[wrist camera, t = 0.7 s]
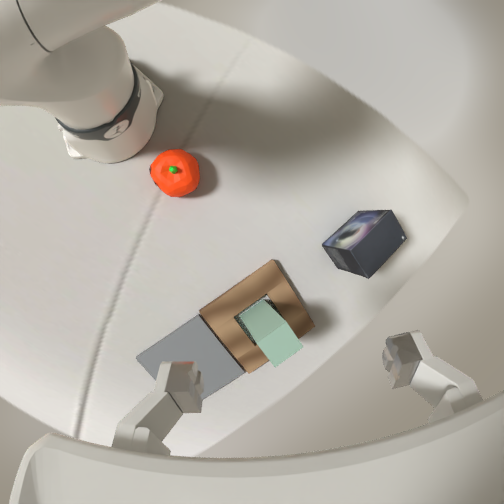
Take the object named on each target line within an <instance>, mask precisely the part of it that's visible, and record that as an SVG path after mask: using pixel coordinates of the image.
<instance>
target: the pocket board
mask: <svg viewBox="0 0 504 504" xmlns="http://www.w3.org/2000/svg"><path fill="white" fill-rule="evenodd" d="M265 294H267V295H268V297H269V298H270V300H271V301H272V302H273V304H274V305H275V307H276V308H277V310H278V311H279V313H280V314H281V316H282V317H283V319H284V320H285V321H286V322H287V323H288V325H289V326H290V328H291V329H292V331H293V332H294V334H295V335H296V337H297V338H298V339H299V338H300V337H302V336H303V335H304V334H306V333H307V332H308V331H310V330H311V329H312V328H314V327H315V325H314V323H313V322H312V320H311V318H310V317H309V315H308V314H307V312H306V310H305V309H304V307H303V306H302V304H301V302H300V301H299V299H298V298H297V296H296V294H295V293H294V291H293V290H292V288H291V286H290V285H289V283H288V282H287V280H286V279H285V277H284V275H283V274H282V272H281V271H280V269H279V268H278V266H277V264H276V263H275V261H274V260H270V261H269V262H268V263H266V264H265V265H263V266H262V267H260V268H259V269H258V270H256V271H255V272H253V273H252V274H251V275H249V276H248V277H246V278H245V279H243V280H242V281H241V282H239V283H238V284H236V285H235V286H233V287H232V288H231V289H229V290H228V291H226V292H225V293H223V294H222V295H221V296H219V297H218V298H216V299H215V300H213V301H212V302H210V303H209V304H208V305H206V306H205V307H203V308H202V309H200V310H199V312H200V314H201V315H202V316H203V317H204V319H205V320H206V321H207V323H208V324H209V325H210V326H211V328H212V329H213V330H214V332H215V333H216V334H217V335H218V337H219V338H220V339H221V340H222V342H223V343H224V344H225V345H226V347H227V348H228V349H229V350H230V352H231V353H232V354H233V355H234V356H235V358H236V359H237V360H238V361H239V362H240V364H241V365H242V366H243V367H244V368H245V370H246V371H247V372H248V373H251V372H252V371H254V370H255V369H257V368H258V367H260V366H261V365H263V364H264V363H266V362H267V361H268V360H269V359H268V358H267V356H266V355H265V354H264V352H263V351H262V350H261V349H260V347H259V346H258V345H257V343H254V344H253V342H252V341H251V340H250V338H249V337H248V336H247V334H246V333H245V332H244V331H243V329H242V328H241V327H240V325H239V324H238V323H237V321H236V320H235V319H234V316H235V315H237V314H238V313H240V312H241V311H243V310H244V309H245V308H247V307H248V306H250V305H251V304H253V303H254V302H255V301H257V300H258V299H260V298H261V297H262V296H264V295H265Z"/></svg>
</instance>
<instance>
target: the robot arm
mask: <svg viewBox="0 0 504 504" xmlns="http://www.w3.org/2000/svg"><path fill="white" fill-rule="evenodd" d="M159 1H161V0H0V106H31V107H37V108H41V109H43V110H45V111H47V112H48V113H50V114H51V115H53V116H54V117H55V118H56V120H57V121H58V123H59V124H58V128H59V130H60V131H63V135H64V140H65V143H66V147H67V150H68V154H69V155H70V156H71V157H72V158H74V159H80V158H89V159H92V160H95V161H97V162H101V163H116V162H120V161H123V160H126V159H128V158H130V157H132V156H133V155H135V154H136V153H137V152H139V151H140V150H141V149H142V148H143V147H144V146H145V145H146V143H147V142H148V141H149V139H150V137H151V135H152V133H153V131H154V128H155V124H156V114H157V109H158V107H159V106H160V104H161V102H162V100H163V97H164V95H163V92H162V91H161V89H159V88H158V87H157V86H156V85H155V84H154V83H153V82H152V81H151V80H150V79H149V78H148V77H146V76H145V75H144V74H143V73H142V72H141V71H140V70H139V69H138V68H137V67H135V66H134V65H133V64H132V63H131V62H130V60H129V57H128V53H127V50H126V46H125V43H124V41H123V39H122V38H121V37H120V36H119V35H118V34H117V33H116V32H115V31H114V30H112V29H110V28H109V27H107V26H105V25H107V24H110V23H112V22H115V21H117V20H120V19H122V18H125V17H128V16H131V15H133V14H135V13H137V12H139V11H141V10H143V9H145V8H147V7H149V6H151V5H153V4H155V3H157V2H159ZM153 90H154V92H153ZM386 345H387V347H386V348H385V349H384V350H383V364H384V367H385V369H386V370H387V371H389V372H390V373H389V376H388V378H389V381H390V384H391V387H392V389H394V388H398V387H403V386H407V385H410V387H411V388H412V389H413V390H415V391H416V392H417V393H418V394H419V395H420V396H422V397H423V398H424V399H425V400H426V401H427V402H428V403H430V404H431V405H432V406H433V407H434V408H435V409H434V411H433V412H432V413H431V415H430V416H429V418H428V421H429V424H426V425H423V426H420V427H417V428H414V429H411V430H408V431H404V432H401V433H398V434H394V435H391V436H387V437H384V438H380V439H376V440H372V441H368V442H363V443H359V444H355V445H349V446H344V447H339V448H334V449H329V450H322V451H315V452H308V453H301V454H291V455H282V456H268V457H251V458H201V457H183V456H171V455H170V452H171V451H170V450H169V448H168V447H166V446H165V445H164V444H163V443H162V441H163V439H164V438H165V437H166V435H167V434H168V433H169V432H170V430H171V429H172V428H173V426H174V425H175V424H176V422H177V421H178V420H179V419H180V417H181V416H182V415H183V413H201V408H202V398H201V397H200V395H201V394H202V393H203V392H204V379H203V375H202V373H201V372H200V371H199V370H198V364H197V363H196V361H192V362H173V361H172V362H162V363H161V364H160V367H159V371H158V375H157V379H156V383H155V387H154V391H153V392H150V393H149V394H148V395H147V396H146V397H145V398H144V399H142V400H141V401H140V402H139V403H138V404H137V405H136V406H135V407H134V408H133V409H132V410H131V411H130V412H129V413H128V414H127V415H126V416H125V417H124V418H123V419H122V420H121V421H120V422H119V423H118V425H117V428H116V432H115V436H114V440H113V444H112V447H108V446H103V445H99V444H94V443H90V442H86V441H82V440H78V439H74V438H70V437H67V436H63V435H60V434H57V433H48V434H46V435H44V436H43V437H42V438H40V439H39V440H37V441H36V442H35V443H34V444H32V445H31V446H30V447H29V448H28V450H27V451H26V453H25V455H24V457H23V459H22V461H21V464H20V467H19V470H18V472H17V475H16V479H15V482H14V486H13V490H12V493H11V497H10V502H9V504H504V390H503V391H501V392H499V393H497V394H495V395H493V396H492V397H489V398H487V399H485V400H483V399H482V397H481V395H480V393H479V391H478V388H477V386H476V384H475V382H474V380H473V379H472V378H470V377H469V376H467V375H466V374H464V373H462V372H461V371H459V370H458V369H456V368H455V367H453V366H451V365H450V364H448V363H447V362H445V361H443V360H442V359H440V358H439V357H437V356H433V354H432V352H431V351H430V349H429V347H428V345H427V343H426V341H425V339H424V337H423V335H422V334H421V332H420V331H419V330H416V331H412V332H407V333H403V334H399V335H394V336H390V337H388V338H387V339H386Z"/></svg>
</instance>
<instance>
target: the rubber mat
mask: <svg viewBox="0 0 504 504" xmlns="http://www.w3.org/2000/svg"><path fill="white" fill-rule="evenodd" d="M136 359H137V360H138V362H139V363H140V364H141V365H142V366H143V367H144V368H145V369H146V371H147V372H148V373H149V374H150V375H151V376H152V377H153V378H154V379H155V380H156V379H157V375H158V371H159V367H160V364H161V363H162V362H172V361H173V362H192V361H196V363H197V364H198V370H199V371H200V372H201V373H202V375H203V379H204V392H203V393H202V394H201V395H200V397H201V398H202V399H204V398H206V397H207V396H209V395H211V394H212V393H214V392H215V391H217V390H219V389H220V388H222V387H223V386H225V385H226V384H228V383H230V382H231V381H233V380H234V379H236V378H237V377H239V376H240V375H242V374H243V373H245V372H244V370H243V369H242V368H241V366H240V365H239V364H238V363H237V362H236V360H235V359H234V358H233V357H232V356H231V354H230V353H229V352H228V351H227V350H226V348H225V347H224V346H223V345H222V343H221V342H220V341H219V340H218V338H217V337H216V336H215V335H214V333H213V332H212V331H211V330H210V328H209V327H208V326H207V324H206V323H205V322H204V321H203V319H202V318H201V317H200V315H199V314H198V315H197V316H195V317H194V318H192V319H191V320H189V321H188V322H186V323H185V324H184V325H182V326H181V327H179V328H178V329H176V330H175V331H173V332H172V333H170V334H169V335H167V336H166V337H164V338H163V339H161V340H160V341H159V342H157V343H156V344H154V345H153V346H151V347H150V348H148V349H147V350H145V351H144V352H142V353H141V354H139V355H138V356H136Z"/></svg>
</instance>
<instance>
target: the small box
mask: <svg viewBox="0 0 504 504" xmlns="http://www.w3.org/2000/svg"><path fill="white" fill-rule="evenodd" d="M406 239H407V237H406V235H405V233H404V231H403V229H402V227H401V226H400V224H399V222H398V220H397V218H396V217H395V215H394V213H393V212H392V210H372V211H358V212H357V213H356V214H355V215H353V216H352V217H351V218H350V219H349V220H348V221H347V222H346V223H345V224H344V225H343V226H341V227H340V228H339V229H338V230H337V231H336V232H335V233H334V234H333V235H332V236H330V237H329V238H328V239H327V240H326V241H325V242H324V243H323V244H322V246H323V248H324V249H325V251H326V252H327V254H328V255H329V257H330V258H331V259H332V261H333V262H334V264H335V265H336V267H337V268H338V269H341V270H345V271H348V272H351V273H354V274H357V275H360V276H363V277H366V278H368V279H369V278H370V277H371V276H372V275H373V274H374V273H375V272H376V271H377V270H378V269H379V268H380V267H381V266H382V265H383V264H384V263H385V262H386V261H387V260H388V258H389V257H390V256H391V255H392V254H393V253H394V252H395V251H396V250H397V249H398V248H399V247H400V245H401V244H402V243H403V242H404V241H405V240H406Z"/></svg>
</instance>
